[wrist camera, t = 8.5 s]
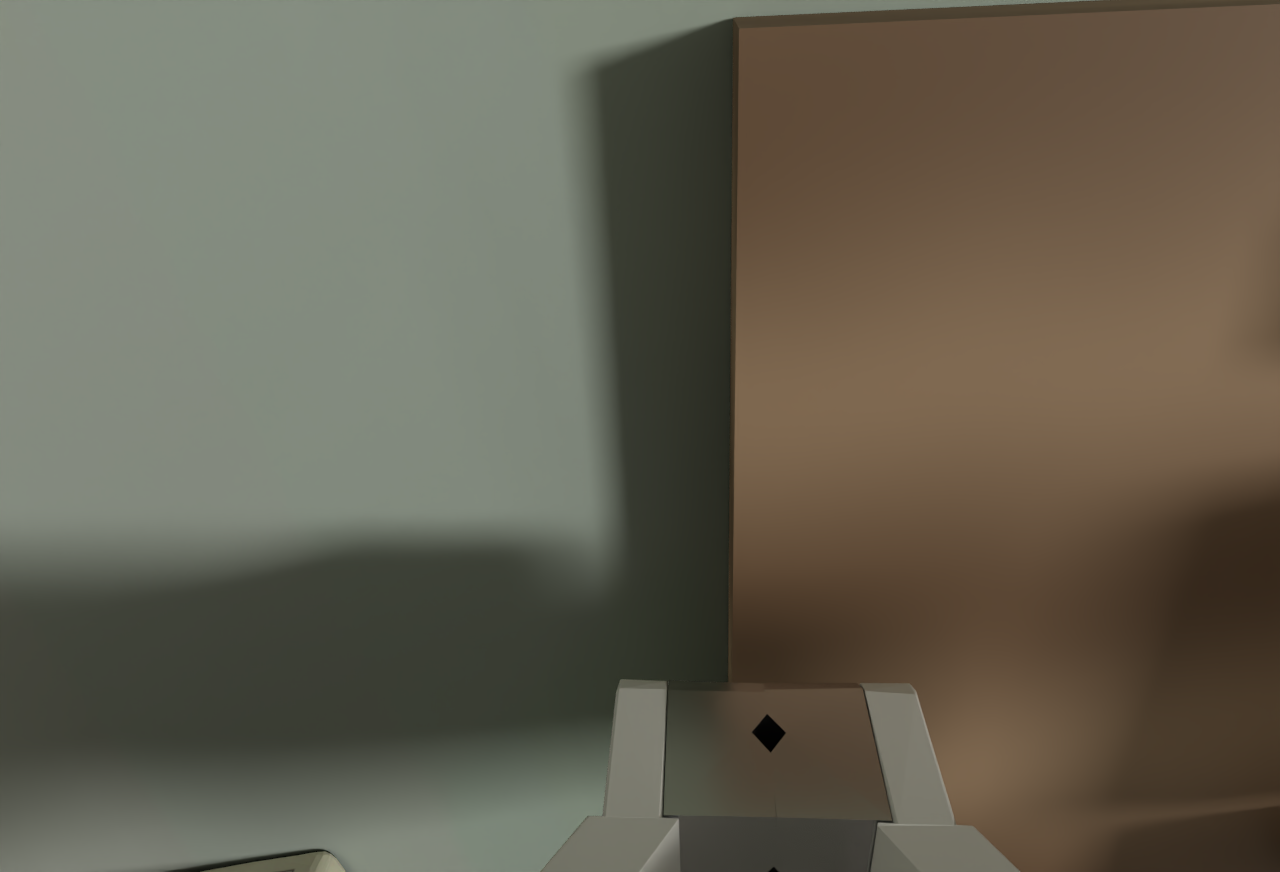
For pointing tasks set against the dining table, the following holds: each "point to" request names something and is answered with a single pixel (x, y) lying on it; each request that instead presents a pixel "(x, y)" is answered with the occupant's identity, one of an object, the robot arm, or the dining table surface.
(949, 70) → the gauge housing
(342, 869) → the skincare box
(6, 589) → the dining table surface
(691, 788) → the robot arm
